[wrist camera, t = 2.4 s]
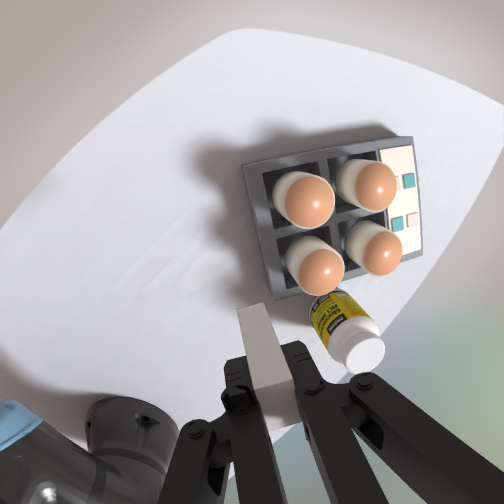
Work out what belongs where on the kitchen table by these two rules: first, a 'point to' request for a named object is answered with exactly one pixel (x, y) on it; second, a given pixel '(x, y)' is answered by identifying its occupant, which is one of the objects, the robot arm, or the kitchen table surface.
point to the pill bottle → (347, 331)
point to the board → (392, 218)
